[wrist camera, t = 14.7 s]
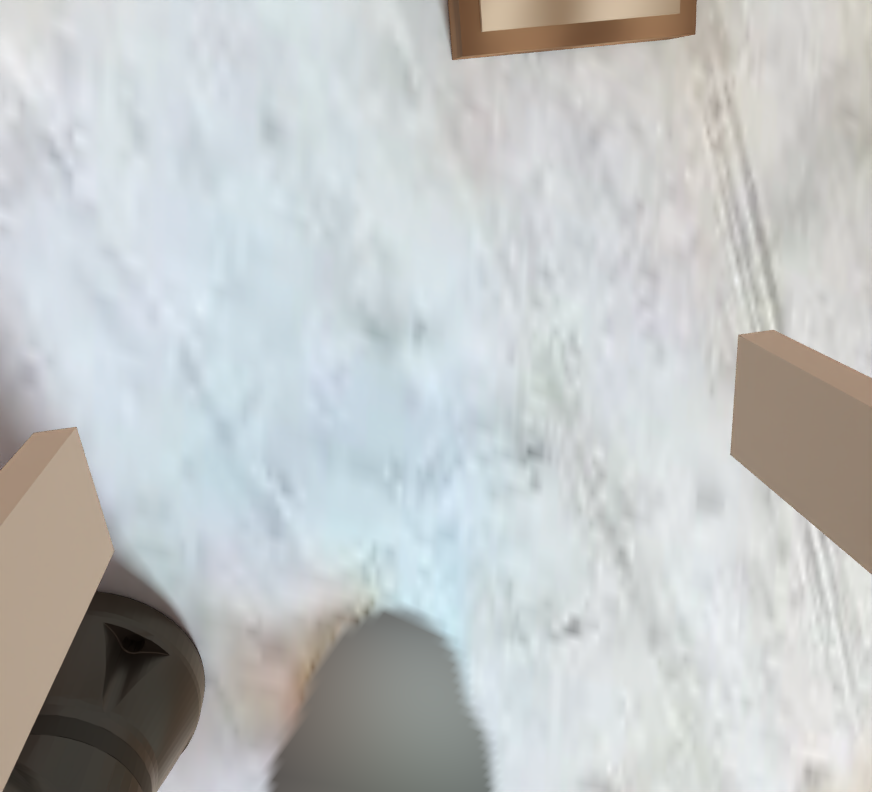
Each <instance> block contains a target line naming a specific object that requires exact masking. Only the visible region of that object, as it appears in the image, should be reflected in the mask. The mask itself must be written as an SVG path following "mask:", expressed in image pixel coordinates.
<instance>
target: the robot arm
mask: <svg viewBox="0 0 872 792" xmlns="http://www.w3.org/2000/svg"><path fill="white" fill-rule="evenodd" d="M730 455H731V456H733V457H734V458H735V459H736V460H737V461H738V462H740V463H741V464H742V465H743V466H744V467H746V468H747V469H748V470H749V471H750V472H751V473H753V474H754V475H755V476H756V477H757V478H759V479H760V480H761V481H762V482H763V483H764V484H766V485H767V486H768V487H769V488H770V489H772V490H773V491H774V492H775V493H776V494H777V495H779V496H780V497H781V498H782V499H783V500H784V501H786V502H787V503H788V504H789V505H790V506H792V507H793V508H794V509H795V510H796V511H797V512H799V513H800V514H801V515H802V516H803V517H805V518H806V519H807V520H808V521H809V522H810V523H812V524H813V525H814V526H815V527H816V528H818V529H819V530H820V531H821V532H822V533H823V534H825V535H826V536H827V537H828V538H829V539H831V540H832V541H833V542H834V543H835V544H836V545H838V546H839V547H840V548H841V549H842V550H844V551H845V552H846V553H847V554H848V555H849V556H851V557H852V558H853V559H854V560H855V561H857V562H858V563H859V564H860V565H861V566H862V567H864V568H865V569H866V570H867V571H868V572H869V573H871V574H872V378H870V377H868V376H866V375H864V374H862V373H860V372H858V371H856V370H854V369H852V368H850V367H848V366H846V365H844V364H842V363H840V362H838V361H836V360H834V359H832V358H830V357H827V356H825V355H823V354H821V353H819V352H817V351H815V350H813V349H811V348H809V347H807V346H805V345H803V344H801V343H799V342H797V341H795V340H793V339H791V338H789V337H787V336H785V335H783V334H781V333H779V332H777V331H775V330H769V331H762V332H755V333H748V334H741V335H738V347H737V362H736V377H735V392H734V407H733V423H732V438H731V453H730ZM113 553H114V548H113V545H112V541H111V538H110V535H109V532H108V528H107V525H106V522H105V519H104V515H103V512H102V509H101V506H100V502H99V499H98V496H97V493H96V489H95V486H94V483H93V480H92V476H91V473H90V470H89V466H88V463H87V460H86V457H85V453H84V450H83V447H82V444H81V440H80V437H79V434H78V431H77V427H72V428H65V429H58V430H51V431H44V432H36V433H33V434H32V435H31V437H30V438H29V439H28V440H27V441H26V442H25V443H24V445H23V446H22V447H21V448H20V449H19V450H18V451H17V453H16V454H15V455H14V456H13V457H12V458H11V459H10V460H9V462H8V463H7V464H6V465H5V466H4V467H3V468H2V470H1V471H0V792H157V791H158V789H159V788H160V786H161V785H162V783H163V782H164V780H165V779H166V777H167V776H168V774H169V773H170V771H171V769H172V768H173V766H174V765H175V763H176V761H177V760H178V758H179V756H180V755H181V754H182V752H183V751H184V750H185V749H186V747H187V746H188V744H189V742H190V740H191V738H192V736H193V734H194V732H195V730H196V727H197V724H198V721H199V717H200V712H201V707H202V702H203V697H204V691H205V675H204V669H203V665H202V662H201V659H200V656H199V654H198V652H197V650H196V648H195V646H194V645H193V643H192V642H191V640H190V639H189V638H188V636H187V635H186V634H185V633H184V632H183V631H182V630H181V629H180V628H179V627H178V626H177V625H176V624H175V623H174V622H173V621H171V620H170V619H169V618H167V617H166V616H165V615H163V614H162V613H160V612H158V611H157V610H155V609H153V608H151V607H149V606H147V605H145V604H143V603H140V602H138V601H135V600H132V599H129V598H126V597H122V596H118V595H114V594H109V593H102V592H96V589H97V587H98V585H99V583H100V581H101V579H102V577H103V574H104V572H105V570H106V568H107V566H108V564H109V561H110V559H111V557H112V555H113Z"/></svg>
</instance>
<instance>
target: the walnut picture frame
mask: <svg viewBox="0 0 872 792" xmlns="http://www.w3.org/2000/svg"><path fill="white" fill-rule="evenodd" d="M696 2H697V0H448V8H449V21H450V35H451V48H452V60H458V59H468V58H479V57H489V56H500V55H510V54H521V53H531V52H542V51H552V50H563V49H573V48H584V47H594V46H604V45H615V44H625V43H636V42H646V41H657V40H667V39H673V38H679V37H684V36H689V35H694V34H695V29H696Z"/></svg>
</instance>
